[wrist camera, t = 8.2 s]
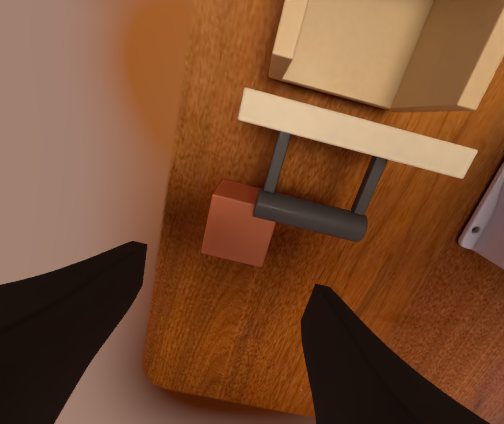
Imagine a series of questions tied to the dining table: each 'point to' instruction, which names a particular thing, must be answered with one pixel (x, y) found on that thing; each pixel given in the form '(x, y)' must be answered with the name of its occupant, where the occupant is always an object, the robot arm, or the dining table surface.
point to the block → (236, 225)
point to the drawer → (373, 90)
